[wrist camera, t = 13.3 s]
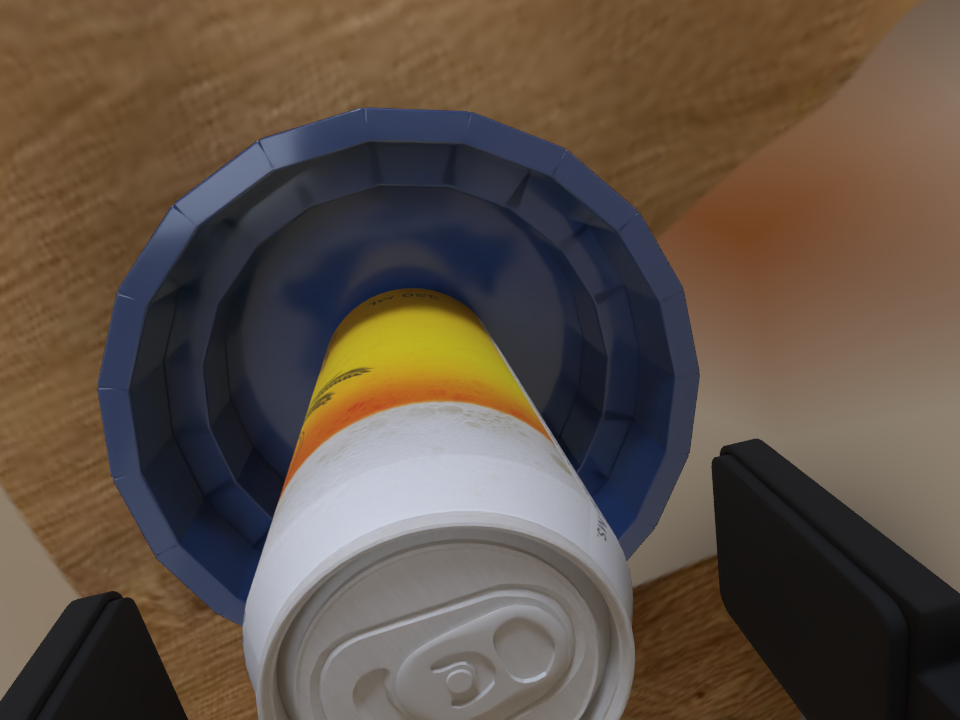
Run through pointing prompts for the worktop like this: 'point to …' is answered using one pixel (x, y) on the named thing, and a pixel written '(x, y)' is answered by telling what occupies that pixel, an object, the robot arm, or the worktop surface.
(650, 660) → the worktop surface
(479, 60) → the worktop surface
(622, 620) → the beer can
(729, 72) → the worktop surface
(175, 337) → the bowl
